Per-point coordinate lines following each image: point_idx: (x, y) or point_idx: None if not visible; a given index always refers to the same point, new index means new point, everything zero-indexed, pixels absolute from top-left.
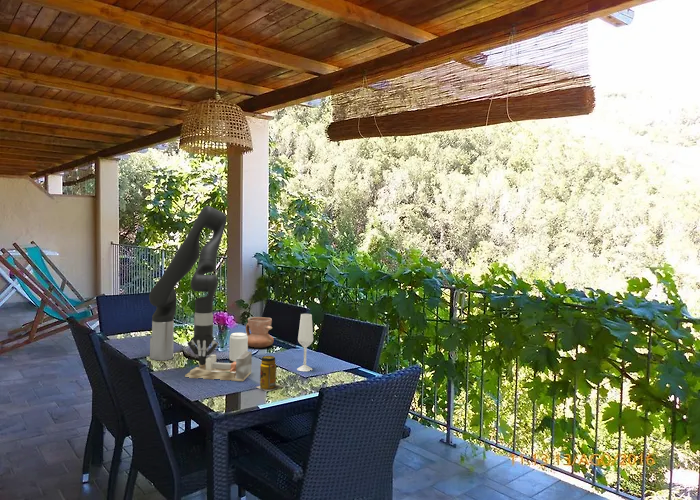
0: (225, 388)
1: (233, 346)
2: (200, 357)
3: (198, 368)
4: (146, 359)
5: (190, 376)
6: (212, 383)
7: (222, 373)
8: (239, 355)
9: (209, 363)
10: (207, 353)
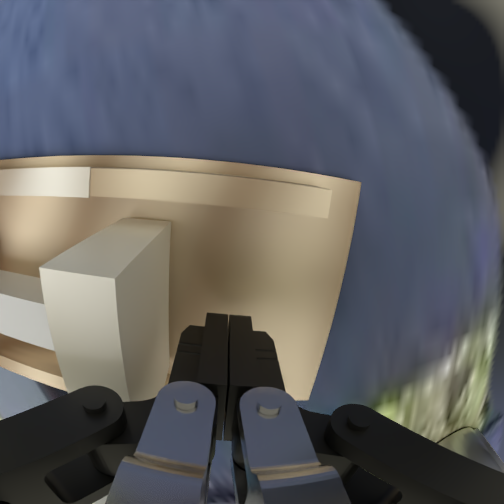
0: (22, 12)
1: None
2: (252, 373)
3: (284, 377)
4: (484, 421)
5: (308, 173)
6: (89, 60)
7: (10, 169)
8: (104, 498)
9: (87, 245)
10: (100, 407)
